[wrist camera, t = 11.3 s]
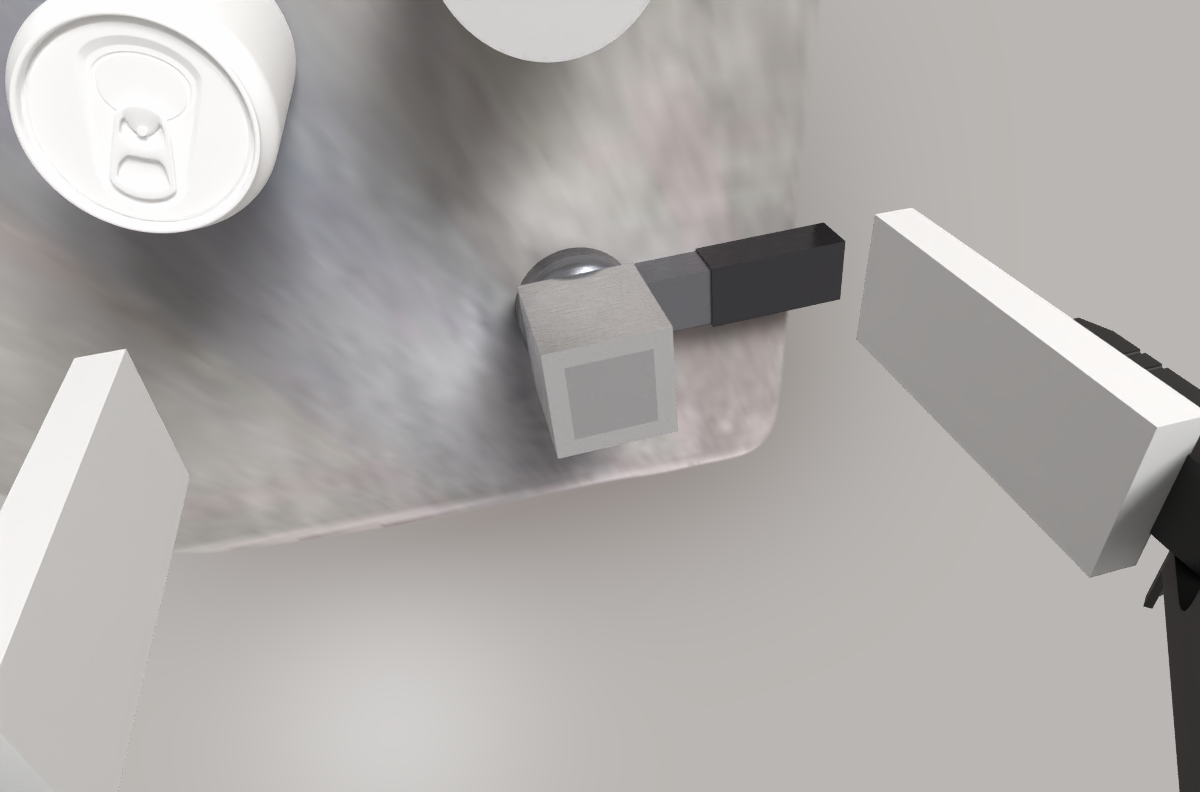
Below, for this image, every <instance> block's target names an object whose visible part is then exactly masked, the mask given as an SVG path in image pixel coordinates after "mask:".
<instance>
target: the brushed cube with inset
mask: <svg viewBox="0 0 1200 792" xmlns="http://www.w3.org/2000/svg"><path fill="white" fill-rule="evenodd" d="M517 288H518V294H519V300H520V305H521V311H522V316H523V322H524V328H525V333H526V339H527V344H528V350H529V356H530V361H531V367H532V373H533V378H534V384H535V387H536V390H537V393H538V396H539V400H540V403H541V406H542V409H543V412H544V416H545V419H546V422H547V425H548V428H549V432H550V435H551V438H552V441H553V444H554V448H555V451H556V454H557V457H558V459H560V458H564V457H569V456H573V455H577V454H582V453H586V452H590V451H594V450H599V449H603V448H607V447H612V446H616V445H620V444H625V443H629V442H633V441H637V440H642V439H646V438H650V437H655V436H659V435H663V434H667V433H672V432H676V431H678V425H677V405H676V385H675V364H674V344H673V327H672V325H671V323H670V322H669V320H668V319H667V317H666V315H665V314H664V312H663V310H662V309H661V307H660V306H659V304H658V302H657V301H656V299H655V298H654V296H653V294H652V293H651V291H650V289H649V288H648V286H647V285H646V283H645V281H644V280H643V278H642V276H641V275H640V273H639V272H638V270H637V268H636V267H635V265H634V264H633V263H629V264H624V265H619V266H614V267H609V268H604V269H599V270H594V271H589V272H584V273H579V274H574V275H570V276H565V277H560V278H555V279H550V280H545V281H540V282H535V283H530V284H525V285H520V286H517Z"/></svg>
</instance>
